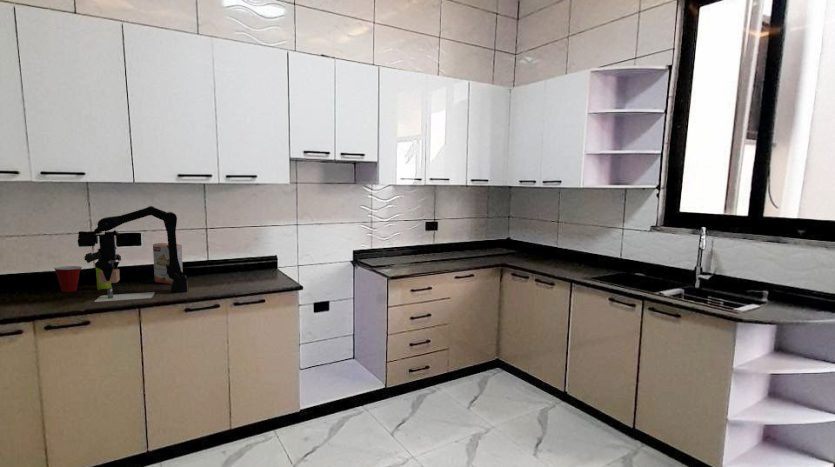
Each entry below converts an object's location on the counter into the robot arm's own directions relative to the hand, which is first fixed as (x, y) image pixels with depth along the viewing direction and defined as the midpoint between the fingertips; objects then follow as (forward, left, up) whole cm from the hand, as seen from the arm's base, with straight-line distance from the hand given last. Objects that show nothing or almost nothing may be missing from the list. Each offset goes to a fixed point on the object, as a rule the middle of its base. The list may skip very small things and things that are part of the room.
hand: (109, 279), depth 200 cm
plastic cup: (+22, -25, -10) cm, 35 cm away
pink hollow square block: (0, 0, -1) cm, 1 cm away
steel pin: (0, 0, -10) cm, 10 cm away
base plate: (-6, 0, -10) cm, 11 cm away
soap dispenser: (+8, -25, -10) cm, 28 cm away
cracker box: (-20, -30, -10) cm, 37 cm away
